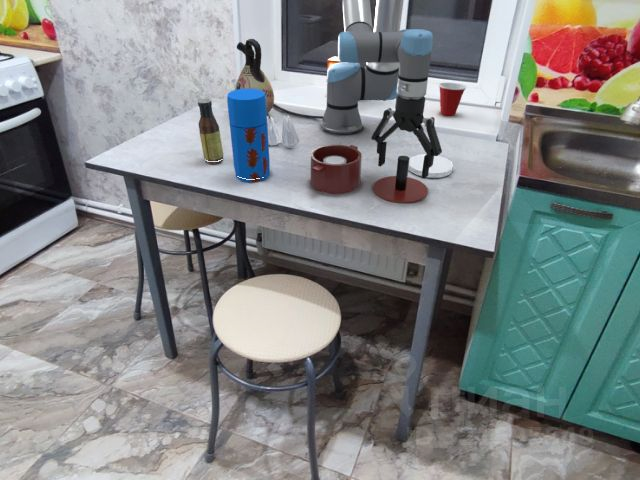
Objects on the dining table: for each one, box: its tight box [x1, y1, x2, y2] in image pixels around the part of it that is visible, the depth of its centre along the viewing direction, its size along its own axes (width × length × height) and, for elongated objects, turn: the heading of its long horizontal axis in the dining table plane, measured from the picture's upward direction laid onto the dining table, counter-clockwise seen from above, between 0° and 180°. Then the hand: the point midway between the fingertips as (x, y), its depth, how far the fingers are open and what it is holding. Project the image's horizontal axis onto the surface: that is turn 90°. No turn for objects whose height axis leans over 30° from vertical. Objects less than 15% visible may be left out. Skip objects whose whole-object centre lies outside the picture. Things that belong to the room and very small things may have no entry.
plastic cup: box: [438, 82, 467, 118], centre depth 190 cm, size 11×11×12 cm
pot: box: [310, 144, 363, 195], centre depth 140 cm, size 15×20×10 cm
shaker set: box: [267, 115, 301, 149], centre depth 163 cm, size 12×4×11 cm, turn 67°
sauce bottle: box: [197, 98, 224, 165], centre depth 149 cm, size 6×6×20 cm
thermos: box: [226, 89, 271, 184], centre depth 140 cm, size 11×11×25 cm
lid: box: [372, 155, 429, 204], centre depth 135 cm, size 16×16×11 cm
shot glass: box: [323, 156, 347, 164], centre depth 140 cm, size 7×7×7 cm
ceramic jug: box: [234, 38, 275, 118], centre depth 181 cm, size 17×15×30 cm
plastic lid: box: [408, 153, 454, 179], centre depth 149 cm, size 14×14×2 cm
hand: (402, 170), depth 134 cm, fingers open, 13 cm apart
